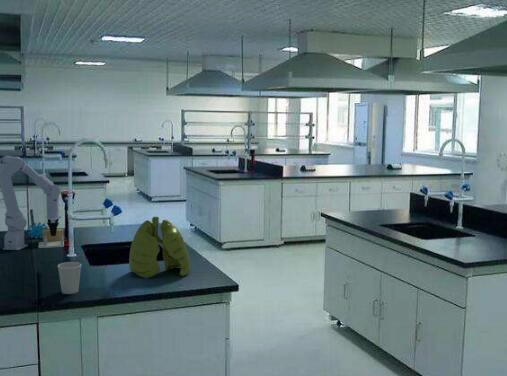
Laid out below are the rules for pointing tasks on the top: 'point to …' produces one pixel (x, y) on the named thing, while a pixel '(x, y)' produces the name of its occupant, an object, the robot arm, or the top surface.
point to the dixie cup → (69, 276)
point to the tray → (51, 243)
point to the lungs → (148, 249)
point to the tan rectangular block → (53, 238)
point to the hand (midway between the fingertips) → (53, 234)
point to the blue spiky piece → (36, 230)
